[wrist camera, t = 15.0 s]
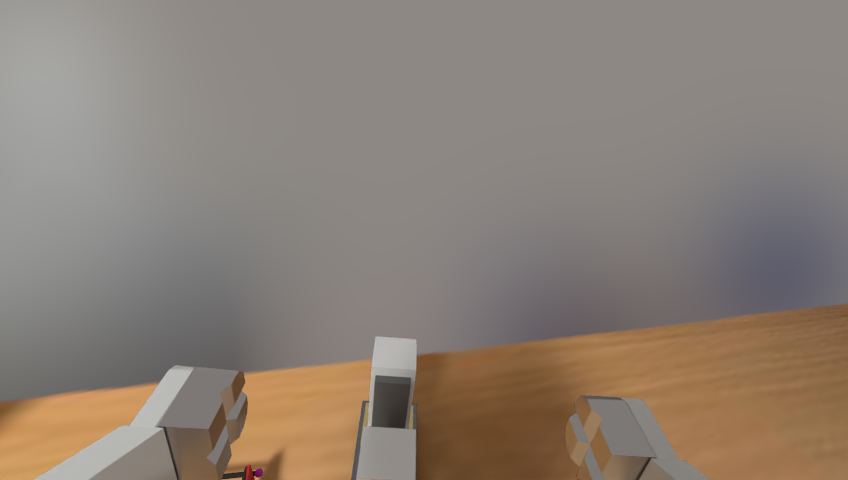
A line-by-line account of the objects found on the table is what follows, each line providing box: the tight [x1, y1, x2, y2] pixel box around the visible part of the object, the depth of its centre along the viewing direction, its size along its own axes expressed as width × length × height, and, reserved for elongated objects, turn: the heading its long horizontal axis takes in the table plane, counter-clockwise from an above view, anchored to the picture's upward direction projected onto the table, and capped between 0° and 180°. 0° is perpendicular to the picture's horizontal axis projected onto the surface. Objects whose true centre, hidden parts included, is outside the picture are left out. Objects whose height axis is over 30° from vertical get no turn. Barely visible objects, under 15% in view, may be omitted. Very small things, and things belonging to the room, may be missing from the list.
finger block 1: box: [368, 336, 417, 429], centre depth 41 cm, size 5×4×10 cm
